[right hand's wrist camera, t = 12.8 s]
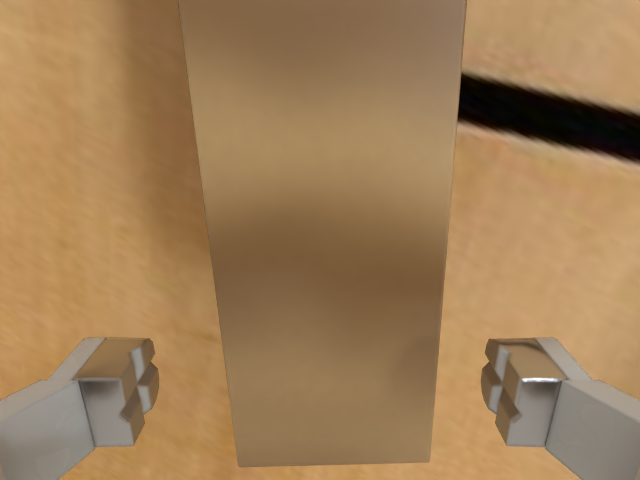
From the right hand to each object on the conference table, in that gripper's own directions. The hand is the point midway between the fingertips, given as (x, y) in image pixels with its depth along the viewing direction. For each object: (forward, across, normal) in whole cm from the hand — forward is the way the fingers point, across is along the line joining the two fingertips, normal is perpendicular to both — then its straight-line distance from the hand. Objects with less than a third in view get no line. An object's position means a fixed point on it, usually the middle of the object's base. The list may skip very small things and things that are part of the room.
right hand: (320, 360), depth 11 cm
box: (+15, 0, +7) cm, 17 cm away
